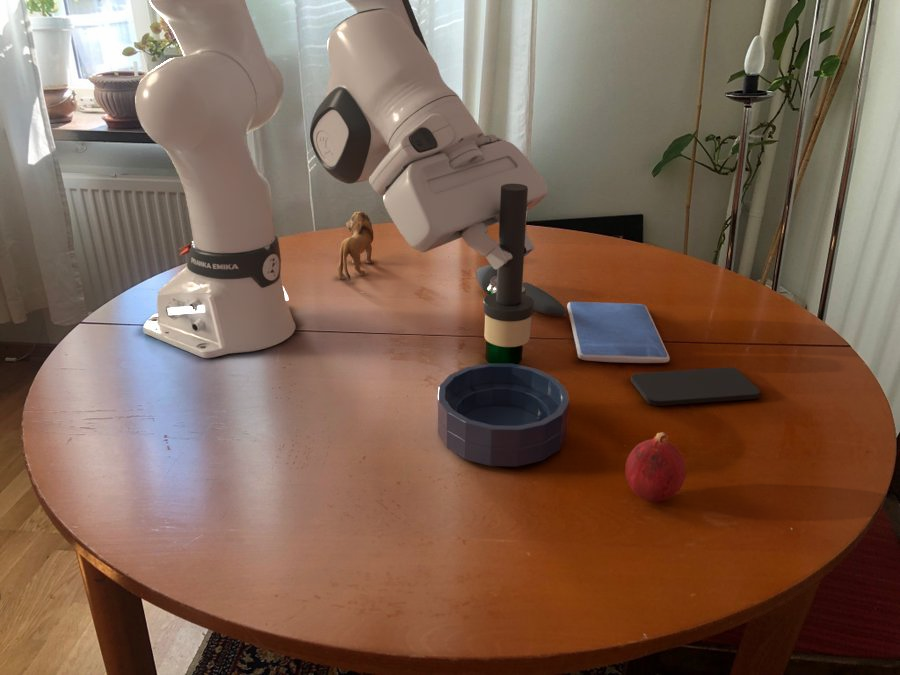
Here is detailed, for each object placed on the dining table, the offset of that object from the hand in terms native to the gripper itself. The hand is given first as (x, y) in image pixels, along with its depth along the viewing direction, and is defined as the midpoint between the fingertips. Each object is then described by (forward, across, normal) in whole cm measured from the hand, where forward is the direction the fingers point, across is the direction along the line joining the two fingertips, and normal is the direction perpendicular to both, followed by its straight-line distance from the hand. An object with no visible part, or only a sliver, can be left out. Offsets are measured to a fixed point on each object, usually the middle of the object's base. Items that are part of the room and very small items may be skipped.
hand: (515, 259), depth 74 cm
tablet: (+13, -34, -18) cm, 41 cm away
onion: (+28, -1, -4) cm, 28 cm away
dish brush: (+6, 0, -7) cm, 9 cm away
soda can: (+8, -16, -24) cm, 30 cm away
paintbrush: (+1, -35, -31) cm, 47 cm away
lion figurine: (-21, -29, -54) cm, 65 cm away
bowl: (+15, -1, -17) cm, 22 cm away
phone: (+24, -25, -7) cm, 36 cm away
